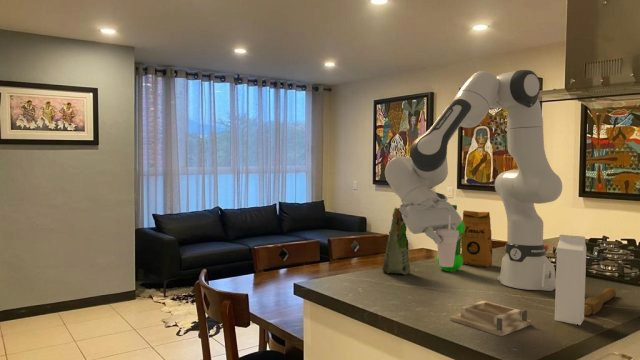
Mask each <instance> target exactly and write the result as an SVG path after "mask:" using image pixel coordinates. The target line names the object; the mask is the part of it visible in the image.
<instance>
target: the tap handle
mask: <svg viewBox="0 0 640 360" xmlns="http://www.w3.org/2000/svg"><path fill="white" fill-rule="evenodd" d="M616 295H617V291H616V289H615V288H614V287H607V288H606V289H604V290H603V291H602V292H601V293H599V294H598V295H597V296H595V297H594V296H589V297H587V298H586V299H585V303H584V317H589V316H590V315H595V313H596V312H597V313H598V312H599V311H601V310H602V309H601V308H603V304H604V303H606V302H609V300H611V299H613V298H614V297H615V296H616ZM600 309H601V310H600ZM597 313H596V314H597Z"/></svg>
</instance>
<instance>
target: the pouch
mask: <svg viewBox="0 0 640 360" xmlns="http://www.w3.org/2000/svg"><path fill="white" fill-rule="evenodd" d="M399 207H400V205H399ZM399 207H398V208H397V207H395V208H394V210H393V213H392V219H391V225H390V230H389V232H388V238H387V242H386V248H385V254H384V259H383V263H382V268H381V271H383V272H384V273H385V272H386V274H389V273H390V274H399V275H403V276H407V275H409V274H410V273H411V269H410V268H411V266H410V261H409V260H410V258H409V257H410V256H409V251H408V249H407V241H408V237H407V229H408V227H407V226H406V224H405V222H404V220H403V218H402V213H401V212H400V210H399Z"/></svg>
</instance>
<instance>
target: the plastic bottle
mask: <svg viewBox="0 0 640 360" xmlns="http://www.w3.org/2000/svg"><path fill="white" fill-rule="evenodd" d="M451 205H452V206H453V207H454V209H455V210H456V211H457V210H458V205H457V204H451ZM456 230H458V231H459V236H460V239H459V240H458V241H457V245H456V251H455V258H454V264H453V267H443V266H440V265H439V256H438V255H437V256H436V262H437V265H438V266H439V268H441V269H442V271H444V272H457V270H459V269H460V268H461V267H463V264H464V263H463V258H462V256H461V251H462V249H461V235H462V234H463V233H464V230H465V225H464V222H463V221H462V222H461V224H460V225H459V226H458V227H457V228H456Z"/></svg>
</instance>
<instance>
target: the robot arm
mask: <svg viewBox="0 0 640 360" xmlns="http://www.w3.org/2000/svg"><path fill="white" fill-rule="evenodd" d="M540 92H541V81H540V79H539V77H538V75H537V74H536V73H535V72H534V70H533V71H532V70H529V69H519V70H516V71H510V72H509V71H508V72H504V73H500V74H498V75H495V74H493V73H492V72H491V71H488V70H487V71H486V70H480V71H477V72H475V73H473V74H472V75H471V76H470V77H469V78H468V79H467V80H466V81H465V83H464V84H463V85H462V86H461V88H460V89H459V90H458V92H457V93H456V95H455V96H454V98H453V100H452V101H451V102H450V103H449V104H448V105H447V106H446V108H445V109H444V110H443V111H442V113H440V115H439V116H438V118H437V119H436V120H435V122H433V125H431V127H430V128H429V129H428V130H427V131H426V132H424V133H423V134H421V135H420V136H419V137H417V138H416V139H415V140H414V141H413V142H412V143H411V146H410V150H409V155H410V156H406V157H405V156H401V155H398V156H395V157H393V158H392V159H390V160H389V161H388V162H387V164H386V166H385V169H384V176H385V179H386V181H387V183H388V185H389V186H390V188H391V189H392V191H393V192H394V194H395V195H396V196H398V197H399V199H400V201H401V204H400V205H399V206H400V207H398V208H399V210H400V212H401V213H402V218H403V220H404V222H405V224H406V228H407V229H408V231H409V232H411V233H412V234H414V235H416V234H423V233H424V234H425V235H426V236H427V237H428V238H430V239H431V240H433V242H434V243H435V245H437V244H440V243H441V242H442V241H443V238H442V237H441V236H440V235H437V234H436V233H435V230H437V229H448V221H449V215H451V224H450V229H452V230H456V228H457V227H458V226H459V225H460V224H461V222H462V220H463V218H462V217H461V215H460V214H459V212H458V211H457V210H455V209H454V207H453V206H452V205H453V204H451V203H450V202H448V199H449V198H448V197H447V196H446V195H445V193H444V194H443V193H440V192H437V191H434V190H433V188H434V187H436V186H438V185H440V184H442V183H443V182H444V181H446V179H447V177H448V175H449V172H448V171H449V167H448V157H447V155H448V145H449V142H450V140H451V139H452V138H453V136H454V135H455V133H456V132H457V130H459V128H460V127H462V128H465V129H467V128H474V127H477V126H478V125H479V124H480V123H481V122H482V121H483V120H484V119H485V117H486V116H487V114H488V113H489V111H491V110H497V109H498V110H499V109H506V112H507V122H506V125H507V126H506V130H507V133H506V134H507V138H506V139H507V152H508V154H509V155H510V156H511V157H512V158H513V160H514V161H515V164H516V166H517V169H510V170H506V171H502V172H501V173H499V174H498V175H497V177H496V178H495V181H494V189H495V192H496V194H497V195H498V197H499V198H500V199H501V201H502V204H503V207H504V210H505V215H506V221H507V223H506V224H507V226H506V227H507V228H506V229H507V235H506V237H507V238H506V239H507V240H506V242H505V246H504V248H505V251H504V252H505V255H504V256H503V257H502V259H501V268H500V275H498V276H497V278H496V279H497V281H499V282H500V284H502V285H504V286H506V287H510V288H515V289H520V290H528V291H530V290H531V291H533V290H534V291H547V292H548V291H549V292H551V291H554V290H556V270H555V269H556V267H555V265H553V263H552V262H551V261H550V260H549V259H548V257H547V256H546V255H547V254H546V251H549V248H550V247H549V244H544V221H543V219H542V217H541V216H540V215H539V213H538V212H537V211H536V208H535V205H534V204H546V203H551V202H552V203H553V202H554V201H557V200H558V199H559V198H560V196H561V194H562V192H563V182H562V179H561V178H560V176H559V175H558V174H557V173H556V172H555V171H554V170H553V168H552V167H551V165H550V163H549V160H548V157H547V155H546V150H545V142H544V141H545V140H544V138H545V137H544V120H543V111H542V107H541V103H540V100H539V97H540V94H541V93H540ZM459 239H460V236H459V235H458V238H457V241H458V240H459Z"/></svg>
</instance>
